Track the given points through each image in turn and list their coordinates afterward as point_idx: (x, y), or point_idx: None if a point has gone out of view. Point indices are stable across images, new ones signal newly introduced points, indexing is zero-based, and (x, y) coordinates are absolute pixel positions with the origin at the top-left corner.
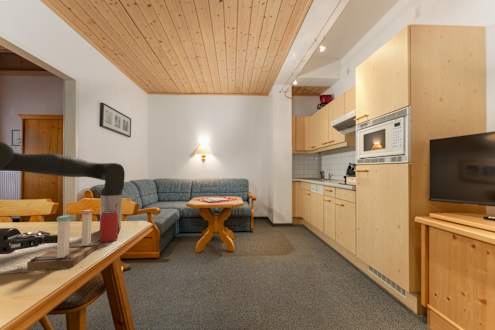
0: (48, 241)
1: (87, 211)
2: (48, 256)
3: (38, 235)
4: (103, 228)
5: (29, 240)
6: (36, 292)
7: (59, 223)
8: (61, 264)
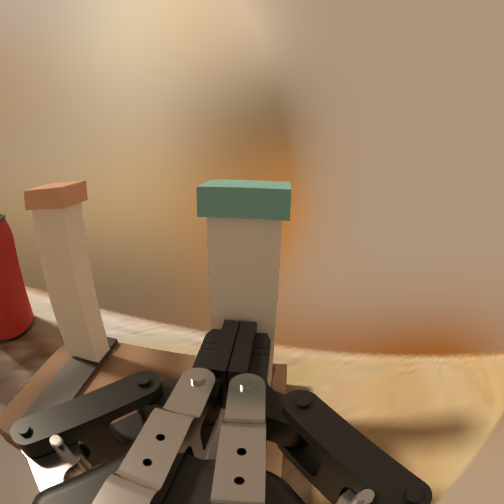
0: (267, 379)
1: (81, 184)
2: (208, 457)
3: (197, 421)
4: (4, 288)
5: (346, 429)
6: (462, 380)
7: (280, 232)
8: None
